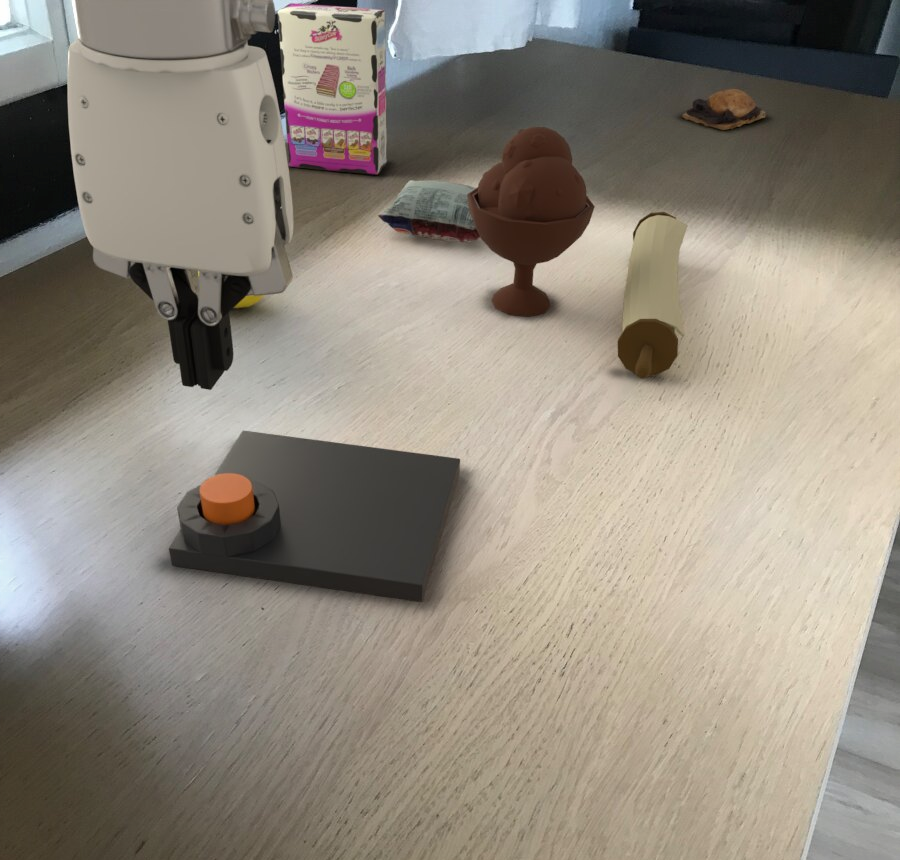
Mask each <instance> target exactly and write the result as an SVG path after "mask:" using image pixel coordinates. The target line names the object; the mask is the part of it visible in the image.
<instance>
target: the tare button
mask: <svg viewBox="0 0 900 860" xmlns="http://www.w3.org/2000/svg"><path fill="white" fill-rule="evenodd" d="M214 475H215V474H214ZM214 475H212V476H210V477H208V478H206V479H205V480H204V481H203V482H201V484H200V485H201V486H200V497H201V504H202V510H203V515H204V517H205V518H206V519H207V520H208V521H209V522H211V523H216V524H223V525H228V524H234V523H239V522H243V521H245V520H247V519H248V518H250V517H251V516H252V515H253V513H254V510H255V505H254V497H253V488H252V484H251V482H250V480H249V479H247V478H246V477H244V476H242V475H239V474H233V473H224V474H218V475H215V476H214Z"/></svg>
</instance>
